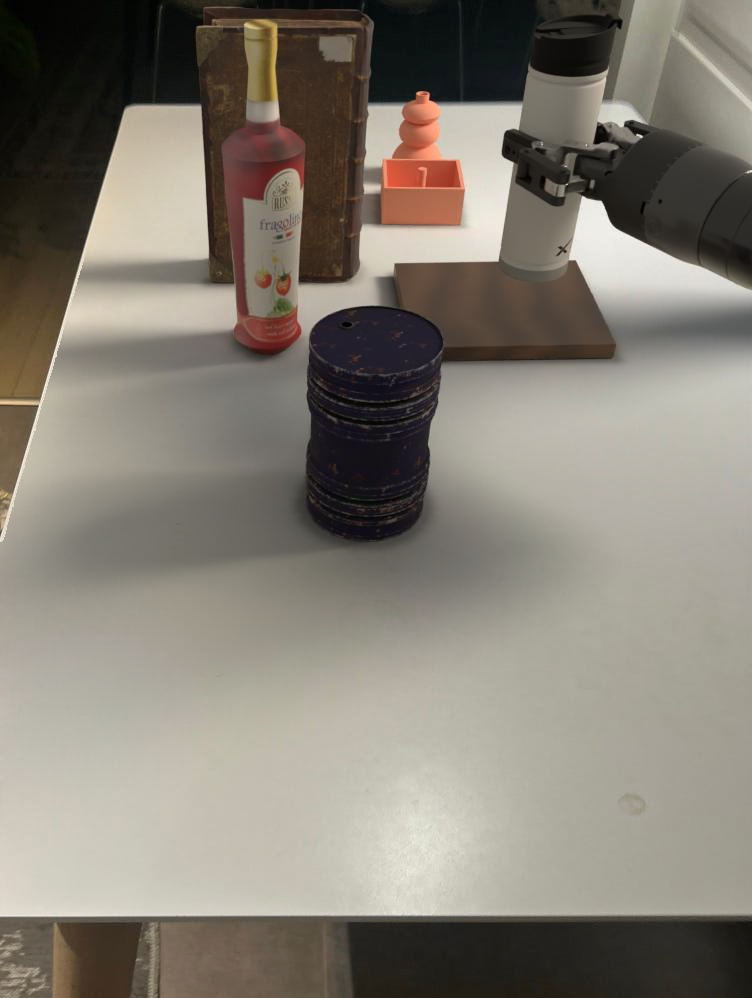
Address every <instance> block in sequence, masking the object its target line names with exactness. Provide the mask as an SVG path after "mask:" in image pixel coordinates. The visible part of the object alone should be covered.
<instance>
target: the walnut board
mask: <svg viewBox="0 0 752 998" xmlns="http://www.w3.org/2000/svg"><path fill="white" fill-rule="evenodd" d="M498 261H499V260H498ZM498 261H496V260H495V261H448V262H447V261H444V262H443V261H442V262H440V261H439V262H394V265H393V280H394V281H393V282H394V285H395V286H394V287H395V291H396V297H397V301H398V306H399V307H398V308H401V309H405V310H409V311H412V312H414V313H417V314H420V315H422V316H423V317H425V318H427V319H429V320H430V321H432V322H433V323H434V324H435V325H436V326H437V327H438V328H439V329H440V331H441V332H442V334H443V337H444V349H443V355H442V362H444V361H445V362H446V361H500V360H501V361H502V360H506V361H507V360H556V359H557V360H563V359H566V360H567V359H569V360H571V359H613V358H614V357H615V352H616V349H617V342H616V340H615V338H614V335H613V334H612V332H611V330H610V328H609V326H608V323H607V322H606V320H605V317H604V316H603V313H602V311H601V310H600V309H601V308H600V307H599V305H598V303H597V301H596V299H595V297H594V295H593V293H592V291H591V288H590V287H589V284H588V283H587V281H586V278H585V276H584V274H583V272H582V269H581V268H580V266H579V264H578V262H577V260H576V259H569V261H568V266H567V271H566V272H565V274H564V275H562V276H561V277H560V278H557V279H555V280H552V281H548V282H539V283H535V282H524V281H519V280H516V279H513V278H511V277H509V276H507V275H505V274H504V273H503V272H502V271H501V270H500V268H499V266H498Z"/></svg>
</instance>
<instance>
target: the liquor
mask: <svg viewBox="0 0 752 998" xmlns="http://www.w3.org/2000/svg"><path fill="white" fill-rule="evenodd" d="M244 38H245V51H246V57H247V62H248V67H249V70H248V89H247V108H246V126H245V127H242V128H240V129H238V130H236V131H235V132H233V133H232V134H231V135H230V136H229V137H228V138H227V139H226V140H225V141H224V142H223V144H222V146H221V147H222V158H223V168H224V179H225V191H226V203H227V212H228V221H229V230H230V238H231V247H232V258H233V270H234V281H235V282H234V291H235V304H236V306H235V307H236V320H237V322H236V324H235V326H233V327H234V328H233V336H234V338H235V339H236V340H237V341H238V342H239V343H240V344H242V345H243V346H244V347H245V348H248V349H249V350H250V351H252V352H254V353H257V354H261V355H262V354H263V355H273V354H278V353H281V352H283V351H285V350H287V349H288V348H289V347H290V346H292V344H294V343H295V342H296V341H297V340H299V338H300V337H301V335H302V332H303V329H302V326H301V324H300V322H299V321H298V309H299V308H298V307H299V304H298V303H299V280H298V278H299V254H300V237H301V223H302V208H303V187H304V163H305V142H304V141H303V140H302V139H301V138H300V137H299V136H298V135H297V134H296V133H295V132H293V131H292V130H291V129H289V128H286V127H284V126H281V125H280V116H279V105H278V94H277V82H276V71H275V64H276V56H277V48H278V45H277V23H276V22H275V21H272V20H252V21H248V22H246V23H245V24H244Z"/></svg>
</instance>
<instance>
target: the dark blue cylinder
mask: <svg viewBox="0 0 752 998" xmlns="http://www.w3.org/2000/svg"><path fill="white" fill-rule="evenodd" d="M308 335H309V336H308V364H307V368H306V386H307V387H306V388H307V390H306V403H307V408H308V412H309V413H310V433H309V434H310V435H309V436H310V437H309V439H308V442H307V445H306V451H305V452H306V453H305V474H304V475H305V477H304V478H305V484H306V498H305V500H306V501H305V502H306V503H305V504H306V510H307V512H308V514H309V517H310V518H311V520H312V521H313V522H314V523H315V524H316V525H317V526H318V527H319V528H320V529H322V530H324V531H325V532H327V533H328V534H330V535H332V536H336V537H338V538H341V539H344V540H347V541H348V540H349V541H354V542H364V543H365V542H367V543H368V542H369V543H370V542H380V541H386V540H390V539H394V538H397V537H399V536H401V535H404V534H405V533H406V532H408V531H410V530H411V529H412V528H414V526H416V524H417V523H418V522H419V520H420V519H421V516H422V514H423V510H424V498H425V495H426V490H427V488H428V481H429V475H430V466H431V449H430V445H429V439H430V431H431V425H432V420H433V419H434V417H435V415H436V411H437V409H438V405H439V394H440V390H441V383H442V382H441V381H442V365H443V364H442V363H443V361H442V355H443V349H444V337H443V334H442V332H441V331H440V329H439V328H438V327H437V326H436V325H435V324H434V323H433V322H432V321H430V320H429V319H427V318H425V317H423V316H422V315H420V314H417V313H414V312H412V311H409V310H405V309H401V308H400V307H395V306H387V305H358V306H352V307H346V308H343V309H339V310H336V311H333V312H331V313H329V314H327V315H325V316H323V317H322V318H320V319H319V320H317V322H316V323H315V324H314V325H313V326H312V327H311V329H310V332H309V334H308Z"/></svg>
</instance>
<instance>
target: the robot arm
mask: <svg viewBox="0 0 752 998" xmlns="http://www.w3.org/2000/svg"><path fill="white" fill-rule="evenodd" d="M640 136H641V137H640ZM571 153H575V154H578V155H577V156H576V158H575V163H574V168H573V175H570V174H571V171H570V170H568V165H569V159H570V154H571ZM545 154H547V155H553V156H555V157H556V162H554V161H553V160H551V159H549V158H547V157H546V156H545ZM501 156H502V157H503V159H505V160H508V161H509V162H511V163H516V164H518V167H517V174H516V177H515V183H516V184H518V185H519V186H521V187H523V188H524V189H526V190H527V191H529V192H531V193H532V194H534V195H535V196H537V197H538V198H540V199H542V200H543V201H545V202H546V203H548V204H550V205H551V206H555V207H560V206H563V205H564V204H565V199H566V195H569V194H573V193H578V194H580V195H581V196H582V198H586V200H591V201H596V202H601V203H602V205H603V207H604V210H605V213H606V216H607V218H608V220H609V222H610V224H611V225H612V227H614V228H615V229H616V230H617V231H619V232H621V233H624V234H626V235H628V236H630V237H631V238H634V239H636V240H637V241H640V242H642V243H643V244H645V245H648V246H649V247H652V248H654V249H656V250H658V251H660V252H662V253H664V254H666V255H668V256H670V257H672V258H674V259H676V260H678V261H681V262H683V263H686V264H690V265H694V266H697V267H700V268H702V269H705V270H707V271H709V272H712V273H713V274H715V275H717V276H720V277H721V278H723V279H726V280H727V281H729V282H732V283H734V284H735V285H737V286H740V287H742V288H744V289H746V290H749V291H752V164H751V163H749V162H748V161H746V160H745V159H743V158H741V157H738V156H736V155H735V154H732V153H729V152H727V151H724V150H722V149H719V148H717V147H714V146H712V145H709V144H706V143H704V142H701V141H698V140H696V139H694V138H691V137H689V136H686V135H683V134H681V133H678V132H676V131H674V130H670V129H666V128H665V129H663V128H660V127H659V128H658V127H656V126H653V125H650V124H646V123H643V122H640V121H637V120H635V119H629V120H624V122H623V126H621V127H620V125H619V124H617V123H616V122H613V121H607V122H603V123H602V122H600V121H598V122H597V127H596V132H595V137H594V141H593V144H590V143H585V142H579V141H574V140H566V141H565V142H563V143H562V144H561V145H558V144H553V143H547V142H542V141H541V140H539V139H537V138H534V137H532V136H530V135H528V134H525V133H523V132H521V131H519V129H516V128H510V129H507V130H505V131H504V133H503V139H502V145H501Z"/></svg>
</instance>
